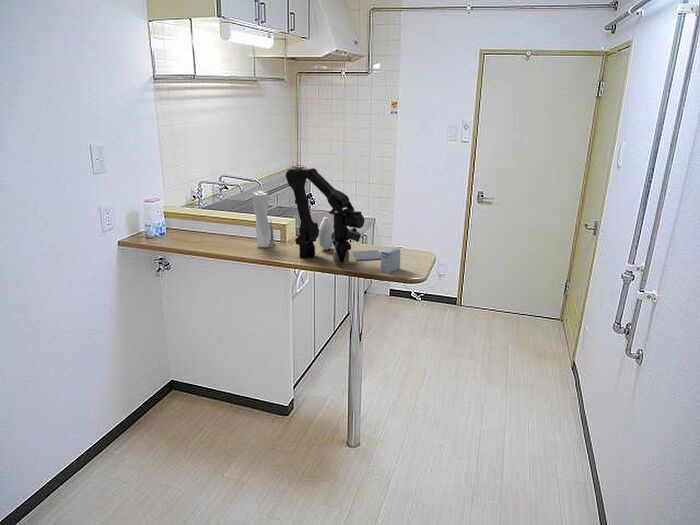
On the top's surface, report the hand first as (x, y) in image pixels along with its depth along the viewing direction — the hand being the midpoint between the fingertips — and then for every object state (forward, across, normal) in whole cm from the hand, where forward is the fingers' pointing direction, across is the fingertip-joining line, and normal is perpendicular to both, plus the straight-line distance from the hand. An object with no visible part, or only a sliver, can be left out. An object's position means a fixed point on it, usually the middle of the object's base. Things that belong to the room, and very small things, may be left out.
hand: (341, 260), depth 216 cm
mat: (+2, +8, -13) cm, 15 cm away
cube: (+2, 0, 0) cm, 2 cm away
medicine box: (+2, -12, -19) cm, 23 cm away
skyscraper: (+2, +32, +33) cm, 46 cm away
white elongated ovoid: (+2, +21, +4) cm, 21 cm away
